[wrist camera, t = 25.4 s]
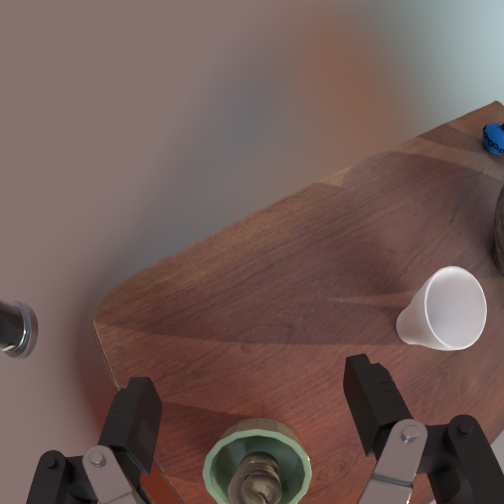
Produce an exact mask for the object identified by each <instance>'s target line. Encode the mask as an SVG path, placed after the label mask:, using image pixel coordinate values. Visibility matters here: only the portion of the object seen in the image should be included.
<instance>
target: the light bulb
mask: <svg viewBox="0 0 504 504" xmlns="http://www.w3.org/2000/svg"><path fill="white" fill-rule="evenodd" d="M279 476H280V468H279V464H278V462H277V460H276V458H275V457H274V456H272V455H271V454H269V453H266V452H262V451H255V452H251V453H249V454H247V455H246V456H245V457H244V458H243V459H242V460H241V462H240V463H239V465H238V469H237V472H236V473H235V475H234V476H233V477H232V479H231V481H230V484H229V486H228V492H227V494H228V499H229V501H230V503H231V504H277V503H278V502H279V501H280V499H281V497H282V488H281V483H280V480H279Z"/></svg>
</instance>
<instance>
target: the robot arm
mask: <svg viewBox="0 0 504 504" xmlns="http://www.w3.org/2000/svg"><path fill="white" fill-rule="evenodd" d="M26 333H27V322H26V318H25V315H24V313H23V311H22V310H21V309H20V308H19V307H16V306H13V305H11V304H9V303H6V302H4V301H2V300H0V348H3V349H2V350H3V351H6V350H9V351H17V350H18V349H20V348H21V346H22V345H23V343H24V341H25V338H26ZM343 388H344V393H345V397H346V399H347V402H348V405H349V408H350V411H351V413H352V416H353V419H354V422H355V425H356V428H357V431H358V433H359V436H360V439H361V442H362V445H363V448H364V451H365V454H366V457H368V456H372V455H375V457H376V460H377V462H376V464H375V467H374V469H373V471H372V473H371V475H370V477H369V479H368V481H367V483H366V485H365V487H364V489H363V491H362V493H361V495H360V497H359V499H358V500H357V502H356V504H407V503H408V501H409V499H410V496H411V493H412V490H413V485H412V483H413V480H414V477H415V474H421V473H427V476H428V478H429V481H430V484H431V487H432V490H433V494H434V497H435V500H436V503H437V504H504V474H503V472H502V470H501V468H500V465H499V463H498V461H497V459H496V457H495V455H494V453H493V451H492V449H491V447H490V444H489V443H488V441H487V439H486V437H485V435H484V433H483V431H482V429H481V427H480V425H479V423H478V422H477V420H476V419H475V418H473V417H472V416H470V415H458V416H456V417H454V418H453V419H452V420H451V421H450V423H449V424H445V425H433V426H428V425H424V424H423V423H422V422H420V421H418V420H415V419H414V418H413V417H412V416H411V414H410V412H409V410H408V408H407V406H406V404H405V402H404V400H403V398H402V396H401V394H400V393H399V391H398V389H397V388H396V385H395V383H394V381H393V379H392V377H391V376H390V374H389V372H388V370H387V369H386V368H384V367H383V366H382V365H381V364H379V363H375V364H371V363H370V361H369V359H368V357H367V355H366V354H359V355H354V356H350V357H347V358H346V363H345V372H344V380H343ZM161 416H162V402H161V399H160V397H159V395H158V393H157V391H156V389H155V387H154V385H153V383H152V381H151V379H150V378H149V377H131V378H130V380H129V383H128V386H127V389H124V388H122V389H121V390H120V391H119V392H118V393H117V394H116V396H115V397H114V399H113V402H112V405H111V408H110V410H109V413H108V416H107V419H106V421H105V424H104V427H103V430H102V433H101V436H100V439H99V442H98V444H97V446H94V447H91V448H89V449H88V450H87V451H86V452H85V454H84V455H83V456H75V457H65V456H64V455H63V454H62V453H60V452H59V451H56V450H51V451H47V452H46V453H44V454H43V455H42V456H41V458H40V460H39V463H38V466H37V469H36V472H35V475H34V478H33V482H32V485H31V488H30V492H29V495H28V499H27V503H26V504H97V503H98V501H99V503H100V504H155V503H154V502H153V501H152V499H151V497H150V496H149V494H148V493H147V491H146V490H145V488H144V486H143V485H142V483H141V482H140V476H141V474H147V475H150V472H151V466H152V461H153V456H154V451H155V445H156V440H157V435H158V430H159V425H160V420H161Z"/></svg>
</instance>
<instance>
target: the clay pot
mask: <svg viewBox="0 0 504 504" xmlns="http://www.w3.org/2000/svg"><path fill="white" fill-rule="evenodd" d="M494 231H495V240H494V242H493V253H494V259H495V262H496V265H497V267H498V269H499V271H500V272H501V273H502V274H503V275H504V185H503V187H502V189H501V192H500V194H499V197H498V200H497V204H496V209H495V217H494Z"/></svg>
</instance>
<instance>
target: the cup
mask: <svg viewBox="0 0 504 504" xmlns="http://www.w3.org/2000/svg"><path fill="white" fill-rule="evenodd" d="M486 313H487V309H486V300H485V296H484V293H483V290H482V288H481V286H480V284H479V283H478V281H477V280H476V279H475V278H474V276H473V275H472V274H470V273H469V272H468V271H466V270H465V269H462V268H460V267H457V266H448V267H445V268H441V269H440V270H439V271H437V272H436V273H435V274H433V275H432V276H431V277H430V278H429V279H428V280H427V281H426V282H425V283H424V285H423V286H422V287H421V288H420V290H419V291H418V292H417V294H416V295H415V296H414V297H413V299H412V301H411V303H410V304H409V306H408V307H407V308H405V309H404V310H403V311H402V312H401V313H400V314H399V316H398V318H397V322H396V329H397V333H398V335H399V337H400V338H401V340H402V341H404V342H405V343H407V344H420V345H423V346H426V347H429V348H433V349H439V350H459V349H465V348H467V347H469V346H471V345H472V344H473V343H474V342H475V341H476V340H477V339H478V338H479V336H480V334H481V333H482V331H483V328H484V325H485V322H486Z"/></svg>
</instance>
